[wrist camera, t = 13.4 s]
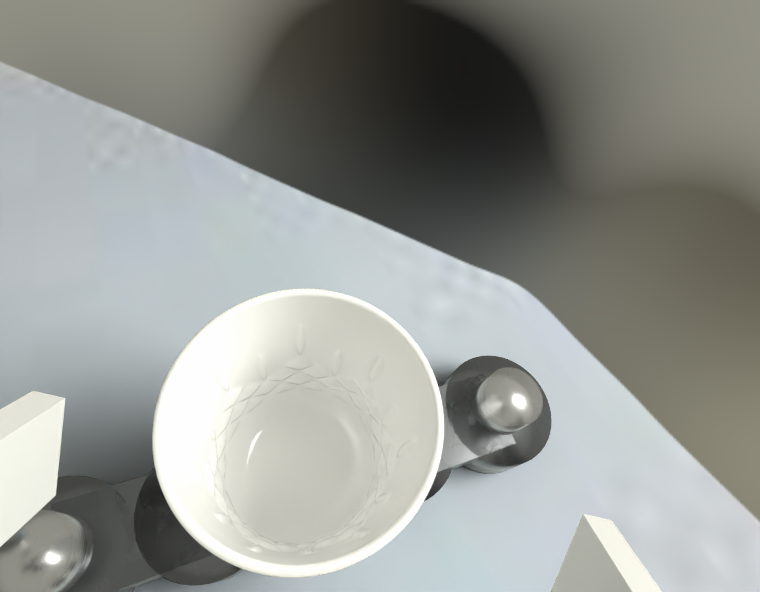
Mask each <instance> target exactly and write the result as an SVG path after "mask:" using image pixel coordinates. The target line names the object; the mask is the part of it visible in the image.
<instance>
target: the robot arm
mask: <svg viewBox="0 0 760 592" xmlns="http://www.w3.org/2000/svg"><path fill="white" fill-rule="evenodd" d="M64 407H65V398H63V397H59V396H54V395H50V394H45V393H41V392H36V391H32V392H30V393H28V394H26V395H25V396H23V397H21V398H19V399H18V400H16V401H14V402H12V403H11V404H9V405H7V406H5V407H3V408H2V409H0V547H1V546H2V545H3V544H4V543H5V542H6V541H7V540H8V539H9V538H10V537H12V536H13V535H14V534H15V533H16V532H17V531H18V530H19V529H20V528H21V527H22V526H23V525H24V524H25V523H27V522H28V521H29V520H30V519H31V518H32V517H33V516H34V515H35V514H36V513H37V512H38V511H39V510H41V509H42V508H43V507H44V506H45V505H46V504H47V503H48V502H49V501H50V500H51V499H52V498H53V497H54V496H56V488H57V478H58V468H59V457H60V447H61V437H62V427H63V417H64ZM551 592H662V591H661V590H660V589H659V587H658V586H657V584H656V583H655V581H654V580H653V579H652V577H651V576H650V574H649V573H648V572H647V570H646V569H645V567H644V566H643V564H642V563H641V562H640V560H639V559H638V557H637V556H636V555H635V553H634V552H633V550H632V549H631V547H630V546H629V545H628V543H627V542H626V540H625V539H624V537H623V536H622V535H621V533H620V532H619V530H618V529H617V528H616V526H615V525H614V523H613V522H612V520H608V519H604V518H599V517H595V516H590V515H586V514H583V515H582V518H581V520H580V523H579V525H578V527H577V530H576V532H575V535H574V537H573V539H572V542H571V544H570V547H569V549H568V552H567V554H566V556H565V559H564V561H563V564H562V566H561V568H560V571H559V573H558V576H557V578H556V581H555V583H554V585H553V588H552V590H551Z"/></svg>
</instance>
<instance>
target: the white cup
mask: <svg viewBox="0 0 760 592" xmlns="http://www.w3.org/2000/svg"><path fill="white" fill-rule="evenodd" d="M443 439H444V414H443V406H442V400H441V395H440V391H439V387H438V384H437V381H436V378H435V376H434V373H433V371H432V369H431V367H430V365H429V363H428V361H427V359H426V357H425V355H424V354H423V352H422V351H421V349H420V348H419V346H418V345H417V344H416V342H415V341H414V340H413V338H412V337H411V336H410V335H409V334H408V333H407V332H406V331H405V330H404V329H403V328H402V327H401V326H400V325H399V324H398V323H397V322H396V321H394V320H393V319H392V318H391V317H389V316H388V315H387V314H385V313H384V312H382V311H381V310H379V309H377V308H376V307H374V306H372V305H370V304H368V303H366V302H364V301H362V300H360V299H357V298H355V297H352V296H349V295H346V294H342V293H338V292H334V291H328V290H321V289H288V290H280V291H275V292H270V293H266V294H263V295H259V296H256V297H254V298H251V299H248V300H246V301H244V302H241V303H239V304H237V305H235V306H233V307H231V308H230V309H228V310H226V311H225V312H223V313H221V314H220V315H218V316H217V317H216V318H214V319H213V320H212V321H210V322H209V323H208V324H207V325H205V326H204V327H203V328H202V329H201V330H200V331H199V332H198V333H197V334H196V335H195V336H194V337H193V338H192V339H191V340H190V341H189V342H188V344H187V345H186V346H185V347H184V349H183V350H182V351H181V353H180V354H179V355H178V357H177V358H176V360H175V362H174V363H173V365H172V367H171V368H170V370H169V372H168V374H167V376H166V378H165V381H164V383H163V385H162V388H161V391H160V394H159V397H158V400H157V404H156V408H155V413H154V420H153V430H152V449H153V459H154V465H155V470H156V474H157V478H158V481H159V484H160V487H161V490H162V492H163V495H164V497H165V499H166V501H167V503H168V505H169V507H170V509H171V510H172V512H173V514H174V515H175V517H176V518H177V520H178V521H179V522H180V524H181V525H182V526H183V527H184V529H185V530H186V531H187V532H188V533H189V534H190V535H191V536H192V537H193V538H194V539H195V540H196V541H197V542H198V543H199V544H200V545H202V546H203V547H204V548H205V549H207V550H208V551H209V552H211V553H212V554H214V555H215V556H217V557H218V558H220V559H222V560H224V561H226V562H228V563H230V564H232V565H234V566H236V567H239V568H241V569H244V570H247V571H250V572H254V573H257V574H262V575H267V576H274V577H285V578H298V577H310V576H317V575H322V574H327V573H331V572H334V571H337V570H340V569H343V568H346V567H348V566H351V565H353V564H355V563H357V562H359V561H361V560H363V559H365V558H367V557H369V556H370V555H372V554H373V553H375V552H377V551H378V550H379V549H381V548H382V547H384V546H385V545H386V544H387V543H389V542H390V541H391V540H392V539H393V538H394V537H395V536H397V535H398V534H399V533H400V532H401V531H402V530H403V529H404V527H405V526H406V525H407V524H408V523H409V522H410V520H411V519H412V518H413V517H414V515H415V514H416V513H417V511H418V510H419V508H420V507H421V505H422V503H423V502H424V500H425V498H426V496H427V494H428V492H429V490H430V488H431V486H432V484H433V481H434V479H435V476H436V473H437V470H438V467H439V463H440V459H441V454H442V448H443Z"/></svg>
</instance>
